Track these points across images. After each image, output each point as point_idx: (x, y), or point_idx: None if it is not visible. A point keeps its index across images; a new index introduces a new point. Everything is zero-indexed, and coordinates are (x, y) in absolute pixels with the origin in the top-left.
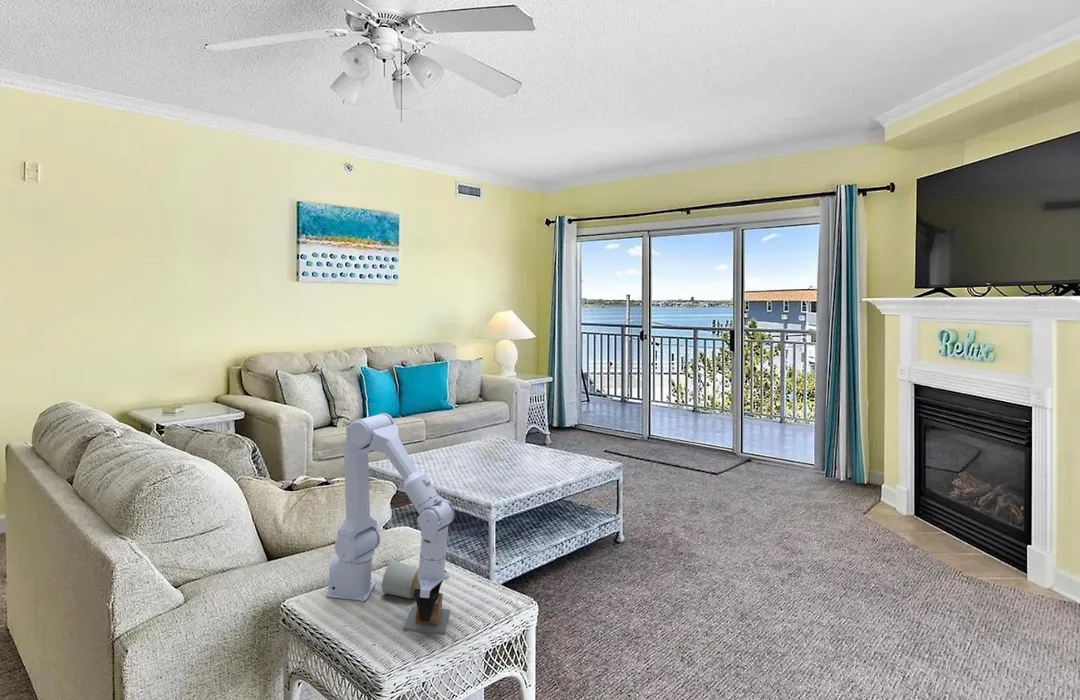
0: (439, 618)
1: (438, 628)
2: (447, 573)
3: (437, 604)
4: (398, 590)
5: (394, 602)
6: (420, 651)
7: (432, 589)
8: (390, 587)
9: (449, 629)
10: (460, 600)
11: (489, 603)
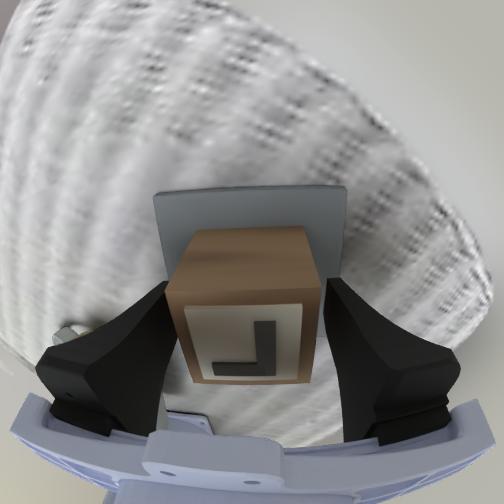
0: (246, 229)
1: (323, 217)
2: (160, 469)
3: (314, 298)
4: (161, 396)
5: (177, 372)
6: (440, 251)
7: (154, 346)
8: (164, 414)
9: (297, 165)
10: (67, 176)
11: (56, 60)
